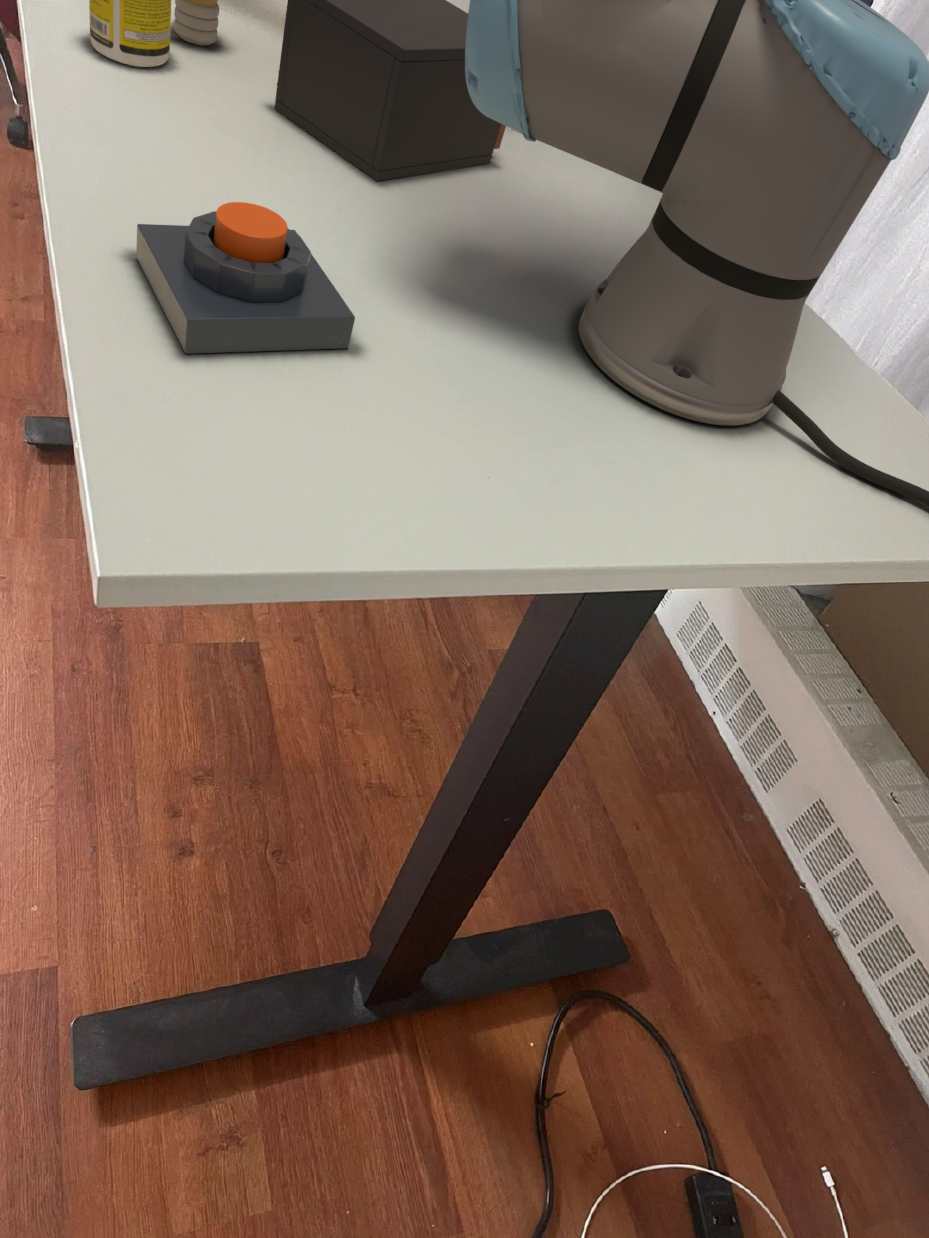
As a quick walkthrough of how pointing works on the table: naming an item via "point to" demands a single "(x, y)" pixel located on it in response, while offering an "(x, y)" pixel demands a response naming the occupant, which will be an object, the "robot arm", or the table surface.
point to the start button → (250, 232)
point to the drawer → (500, 136)
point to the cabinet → (383, 84)
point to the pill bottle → (131, 30)
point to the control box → (240, 293)
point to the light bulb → (197, 20)
